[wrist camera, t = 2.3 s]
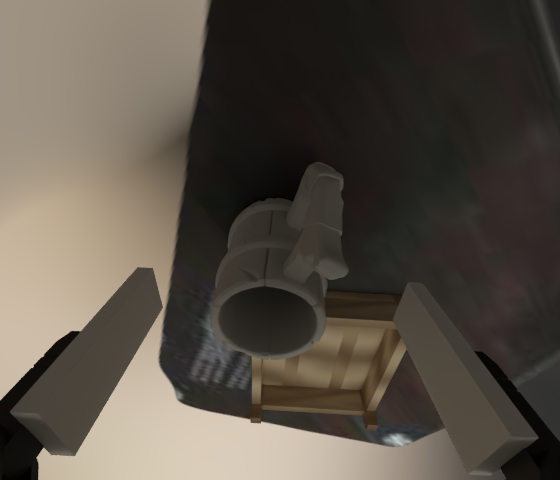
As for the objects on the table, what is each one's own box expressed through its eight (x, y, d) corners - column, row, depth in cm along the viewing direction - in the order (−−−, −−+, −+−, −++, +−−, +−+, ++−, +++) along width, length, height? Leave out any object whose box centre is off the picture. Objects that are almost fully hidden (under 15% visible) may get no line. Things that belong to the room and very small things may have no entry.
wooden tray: (256, 286, 25) (249, 326, 20) (403, 295, 25) (427, 337, 20) (255, 380, 33) (250, 422, 29) (364, 387, 33) (375, 430, 29)
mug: (220, 251, 23) (164, 382, 12) (273, 125, 17) (251, 170, 7) (294, 280, 24) (298, 418, 14) (365, 172, 18) (461, 269, 8)
